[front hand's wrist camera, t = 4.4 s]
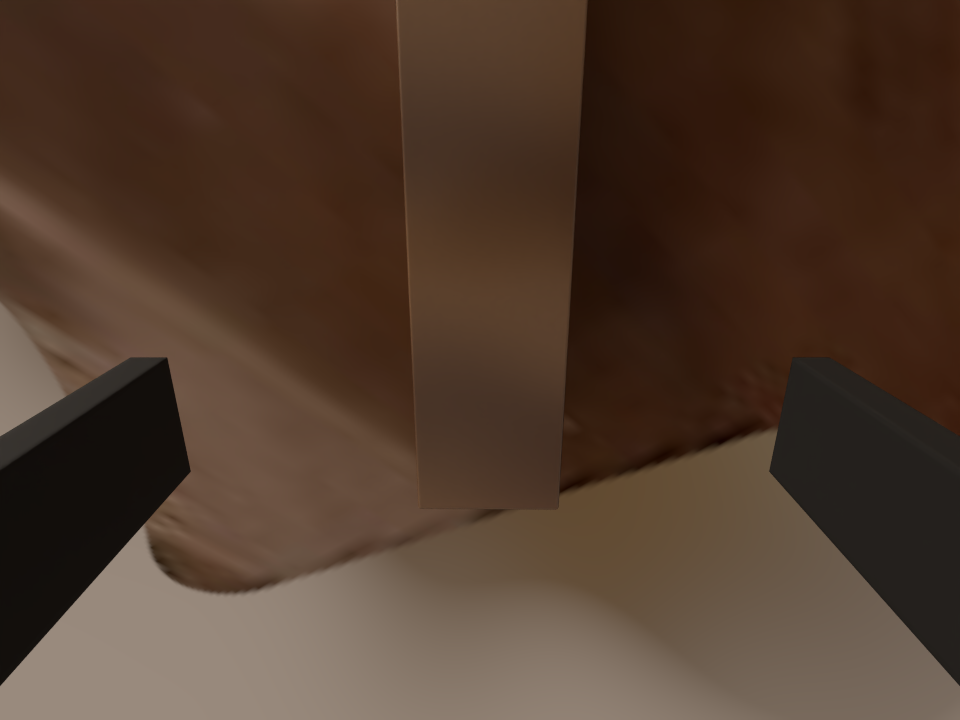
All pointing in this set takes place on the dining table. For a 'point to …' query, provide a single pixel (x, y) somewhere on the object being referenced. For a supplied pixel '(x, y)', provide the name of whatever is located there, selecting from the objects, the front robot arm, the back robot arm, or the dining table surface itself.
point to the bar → (490, 241)
